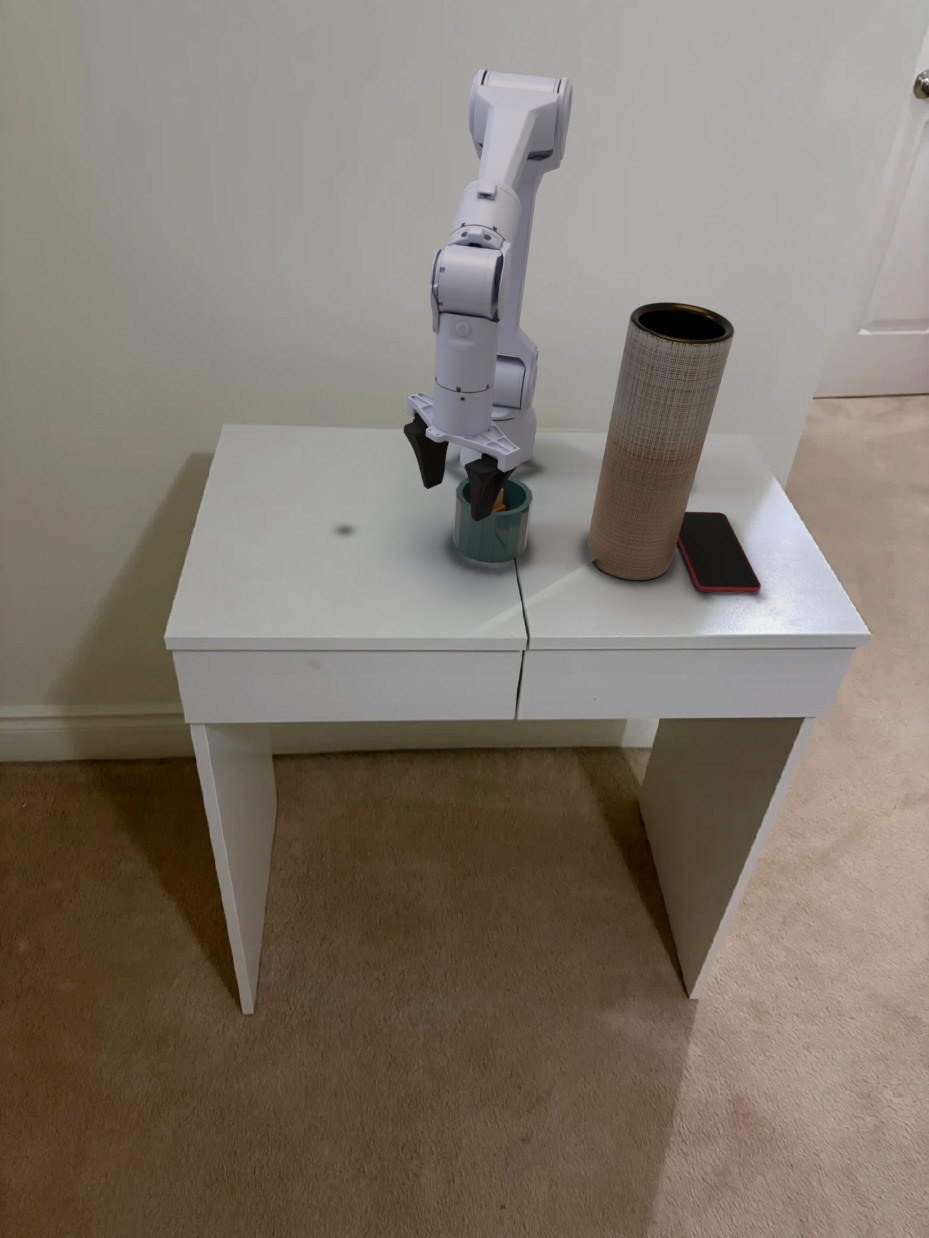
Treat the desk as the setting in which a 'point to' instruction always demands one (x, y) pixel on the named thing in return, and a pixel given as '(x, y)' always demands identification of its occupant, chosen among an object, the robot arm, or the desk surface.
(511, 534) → the cup
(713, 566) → the smartphone
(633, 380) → the vase
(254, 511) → the desk surface
